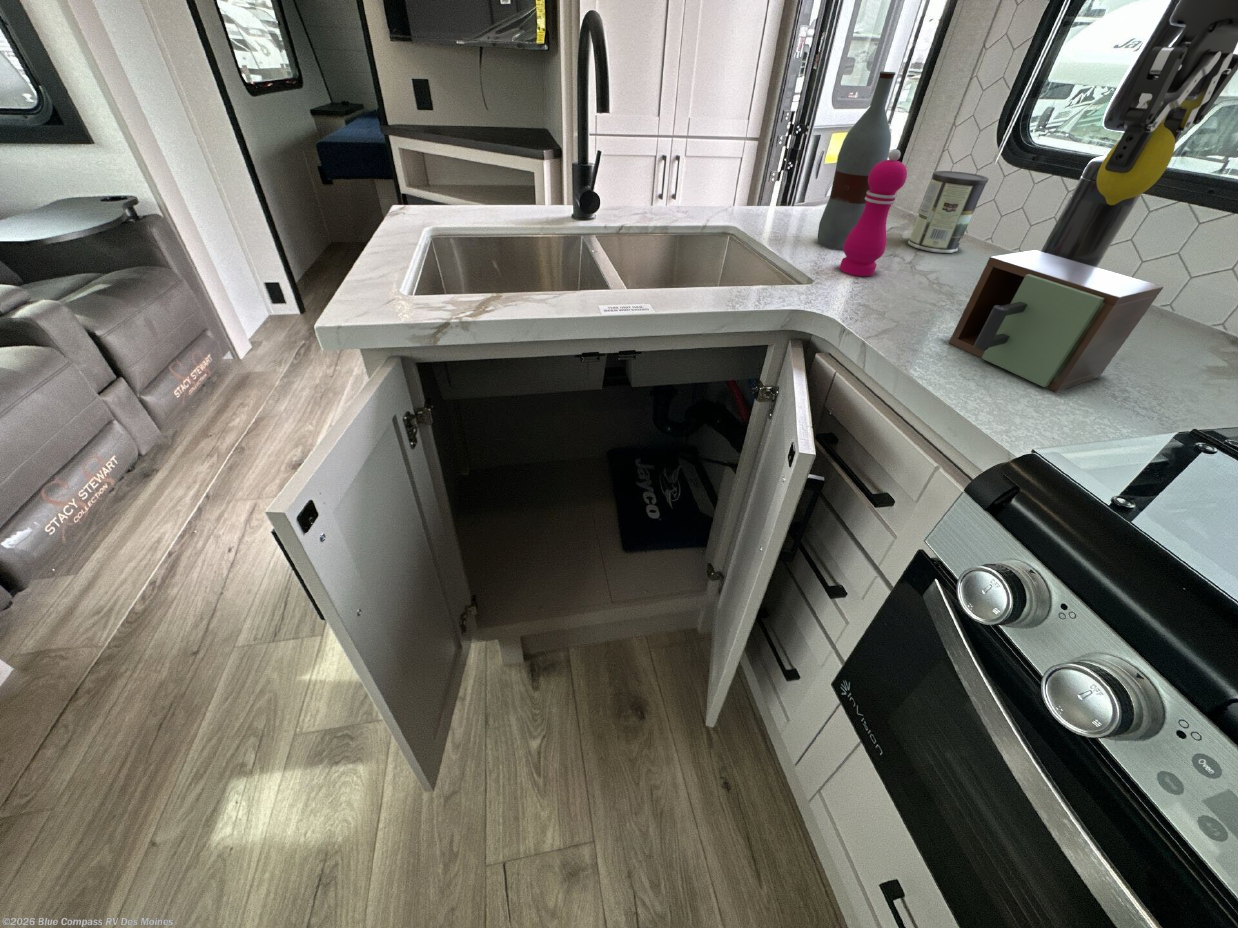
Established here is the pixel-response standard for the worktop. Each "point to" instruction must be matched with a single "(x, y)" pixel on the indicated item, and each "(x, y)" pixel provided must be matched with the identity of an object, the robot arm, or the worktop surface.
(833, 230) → the bottle
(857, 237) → the pepper mill
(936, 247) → the coffee can
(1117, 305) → the cabinet
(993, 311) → the door
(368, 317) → the worktop surface
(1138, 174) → the lemon
